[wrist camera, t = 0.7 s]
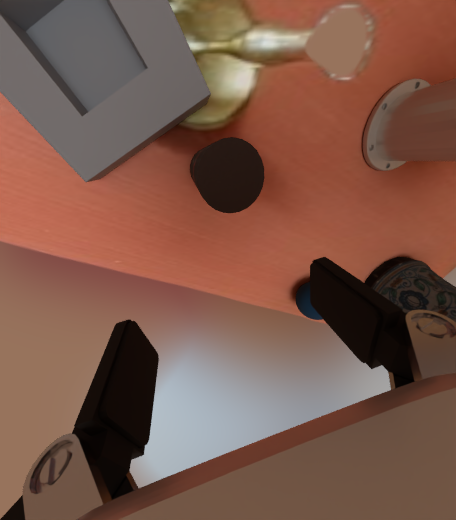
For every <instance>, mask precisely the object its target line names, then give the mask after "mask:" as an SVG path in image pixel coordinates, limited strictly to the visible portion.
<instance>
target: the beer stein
mask: <svg viewBox="0 0 456 520" xmlns="http://www.w3.org/2000/svg"><path fill="white" fill-rule="evenodd" d="M365 284H366V285H368V286H369V287H370V288H372V289H373V290H375V291H376V292H378V293H379V294H381V295H382V296H384V297H385V298H387V299H388V300H390V301H391V302H393V303H394V304H396V305H397V306H398V307H400V308H401V309H402V311H403V312H405V313H406V314H407V313H408V312H410V311H412V310H429V311H433V312H437V313H439V314H442V315H444V316H446V317H448V318H450V319H452V320H453V321H454V322H456V287H455V286H453V285H451V284H450V283H448V282H447V281H445V280H444V279H443V278H441V277H440V276H438V275H437V274H436V273H435V272H434V271H432V270H431V269H430V267H429V266H428V265H427V264H425V263H424V262H422V261H418V260H414V259H411V258H409V257H396V258H393V259H391V260H388V261H386V262H384V263H383V264H381V265H380V266H379V267H378V268H376V269H375V270H374V271H373V272H372V273H371V274H370V276H369V277H368V278H367V279H366V281H365Z"/></svg>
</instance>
